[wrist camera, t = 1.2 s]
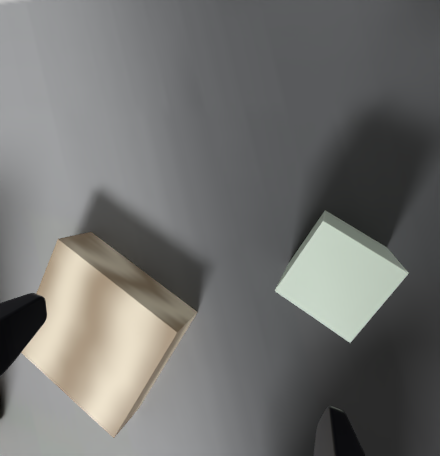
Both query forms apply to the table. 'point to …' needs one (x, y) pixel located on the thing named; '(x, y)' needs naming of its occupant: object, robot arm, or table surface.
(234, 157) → the table surface
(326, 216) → the sage block
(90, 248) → the birch base block
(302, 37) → the table surface
